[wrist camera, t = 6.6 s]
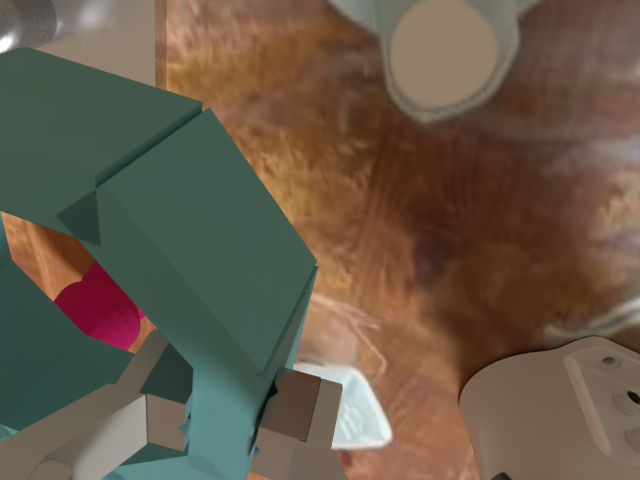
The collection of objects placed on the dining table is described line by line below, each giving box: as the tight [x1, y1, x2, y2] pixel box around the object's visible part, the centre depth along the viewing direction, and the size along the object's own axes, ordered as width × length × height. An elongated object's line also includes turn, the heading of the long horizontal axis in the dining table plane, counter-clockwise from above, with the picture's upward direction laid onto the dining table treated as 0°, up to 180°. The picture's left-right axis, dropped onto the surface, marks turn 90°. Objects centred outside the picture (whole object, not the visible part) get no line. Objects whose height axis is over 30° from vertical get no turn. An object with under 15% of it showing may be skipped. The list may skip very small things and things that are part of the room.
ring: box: [0, 47, 318, 480], centre depth 12 cm, size 11×11×4 cm
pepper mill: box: [54, 262, 145, 351], centre depth 37 cm, size 7×7×20 cm
